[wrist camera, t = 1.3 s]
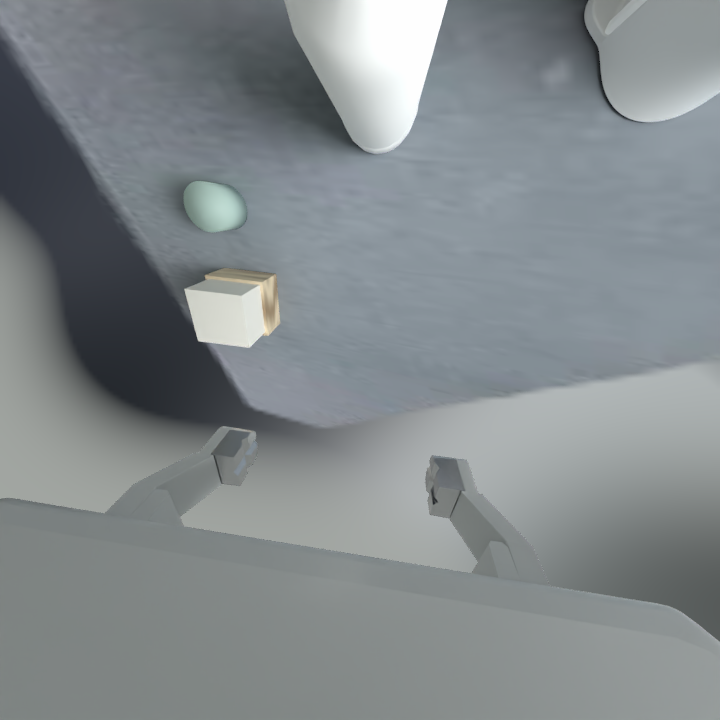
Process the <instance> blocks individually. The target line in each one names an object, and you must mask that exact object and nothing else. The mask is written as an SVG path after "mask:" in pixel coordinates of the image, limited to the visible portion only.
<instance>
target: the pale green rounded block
mask: <svg viewBox="0 0 720 720" xmlns="http://www.w3.org/2000/svg"><path fill="white" fill-rule="evenodd" d="M183 200H184V207H185V210H186V212H187V214H188V216H189V218H190V219H191V221H192V222H193V223H194V224H195V225H196V226H197V227H199V228H200V229H202V230H204V231H207V232H220V231H226V230H233V229H238V228H240V227H241V226H243V225H244V223H245V221H246V219H247V206H246V203H245V201H244V199H243V197H242V195H241V194H240V193H239V192H238V191H237V190H236V189H235V188H233V187H232V186H230V185H226V184H219V183H212V182H204V181H194V182H192V183H190V184H189V185H188V186H187V187H186V189H185V192H184V197H183Z"/></svg>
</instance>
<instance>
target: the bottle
mask: <svg viewBox="0 0 720 720" xmlns="http://www.w3.org/2000/svg"><path fill="white" fill-rule="evenodd" d="M284 2H285V5H286V9H287V12H288V16H289V19H290V23H291V26H292V30H293V33H294V35H295V37H296V39H297V41H298V42H299V44H300V46H301V48H302V49H303V51H304V53H305V55H306V57H307V58H308V60H309V62H310V64H311V66H312V67H313V69H314V71H315V73H316V74H317V76H318V78H319V80H320V82H321V83H322V85H323V87H324V89H325V91H326V92H327V94H328V96H329V98H330V99H331V101H332V103H333V105H334V107H335V108H336V110H337V112H338V114H339V116H340V117H341V119H342V121H343V124H344V127H345V128H346V130H347V132H348V133H349V135H350V137H351V138H352V140H353V141H354V142H355V143H356V144H357V145H358V146H359V147H361V148H362V149H363V150H364V151H366V152H369V153H373V154H382V153H388V152H390V151H391V150H393V149H394V148H396V147H397V146H399V145H400V144H401V142H402V141H403V140H404V139H405V137H406V136H407V135H408V133H409V131H410V129H411V127H412V124H413V122H414V119H415V117H416V114H417V110H418V103H419V100H420V96H421V93H422V89H423V86H424V82H425V78H426V75H427V71H428V68H429V64H430V61H431V57H432V54H433V50H434V47H435V43H436V39H437V36H438V32H439V29H440V25H441V22H442V18H443V15H444V11H445V7H446V4H447V0H284Z"/></svg>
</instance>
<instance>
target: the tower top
mask: <svg viewBox="0 0 720 720" xmlns="http://www.w3.org/2000/svg"><path fill="white" fill-rule="evenodd" d="M184 290H185V294H186V297H187V301H188V305H189V309H190V312H191V316H192V320H193V323H194V327H195V331H196V335H197V338H198V341H201V342H209V343H217V344H224V345H232V346H240V347H248V348H250V347H251V346H252V345H253V344H254V343H255V342H256V341H257V340H258V339H259V338H260V337H261V336H262V335H263V334H264V333H265V326H264V317H263V309H262V300H261V291H260V285H257V284H249V283H241V282H232V281H224V280H215V279H208V280H205V281H203V282H200V283H198V284H195V285H193V286H190V287H188V288H185V289H184Z"/></svg>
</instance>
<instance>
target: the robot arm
mask: <svg viewBox="0 0 720 720" xmlns="http://www.w3.org/2000/svg"><path fill="white" fill-rule="evenodd" d="M584 19H585V24H586V27H587V29H588V31H589V33H590V35H591V36H592V38H593V40H594V41H595V43H596V44H597V46H598V50H599V55H600V68H601V78H602V83H603V87H604V91H605V93H606V96H607V98H608V100H609V101H610V103H611V104H612V106H613V107H614V108H615V109H616V110H617V111H618V112H619V113H620V114H622V115H623V116H625V117H627V118H629V119H632V120H635V121H640V122H658V121H663V120H668V119H671V118H674V117H677V116H680V115H682V114H685V113H687V112H689V111H691V110H693V109H695V108H696V107H698V106H700V105H702V104H703V103H705V102H706V101H708V100H709V99H711V98H712V97H714V96H715V95H717V94H718V93H720V0H588V3H587V5H586V8H585V13H584ZM255 438H256V433H255V431H250V430H244V429H238V428H231V427H225V426H222V427H221V428H219V429H218V430H217V432H216V433H215V434H214V435H213V436H212V437H211V439H210V440H209V441H208V442H207V443H206V445H205V446H204V447H203V448H202V449H201V450H200V452H199V453H193V454H191V455H189V456H187V457H185V458H183V459H182V460H180V461H178V462H176V463H174V464H172V465H170V466H168V467H166V468H164V469H162V470H160V471H158V472H156V473H154V474H152V475H151V476H148V477H147V478H145V479H143V480H141V481H139V482H137V483H135V484H133V485H132V486H131V487H130V488H129V490H127V491H126V493H124V494H123V495H122V496H121V497H120V499H119V500H117V501H116V503H114V505H112V506H111V507H110V509H109V510H108V511H107V512H105V513H98V512H92V511H86V510H80V509H74V508H68V507H62V506H56V505H50V504H44V503H37V502H32V501H26V500H20V499H13V498H2V499H0V720H720V642H719V641H718V640H717V639H715V638H714V637H713V636H712V635H710V634H709V633H708V632H707V631H705V630H704V629H703V628H702V627H701V626H699V625H698V624H697V623H695V622H694V621H693V620H691V619H690V618H689V617H687V616H686V615H685V614H683V613H682V612H680V611H678V610H676V609H674V608H672V607H669V606H666V605H661V604H656V603H650V602H644V601H638V600H632V599H626V598H620V597H613V596H607V595H601V594H595V593H588V592H583V591H577V590H570V589H564V588H558V587H552V586H550V585H549V582H548V580H547V578H546V576H545V573H544V571H543V569H542V566H541V564H540V562H539V560H538V557H537V555H536V553H535V551H534V548H533V546H532V545H531V544H530V543H529V542H528V541H527V540H526V539H525V538H524V537H523V536H522V535H521V534H520V533H519V532H518V531H517V530H516V529H515V528H514V527H513V525H512V524H511V523H509V522H508V520H507V519H506V518H505V517H504V516H503V515H502V514H501V513H500V512H499V511H498V510H497V509H496V508H495V507H494V506H493V505H492V504H491V503H490V502H489V501H488V500H487V499H486V498H485V497H484V496H483V494H479V493H478V491H477V487H476V484H475V482H474V478H473V475H472V472H471V469H470V466H469V463H468V461H467V460H464V459H456V458H455V459H454V458H449V457H441V456H431V458H430V467H429V468H427V472H426V490H427V492H428V493H429V497H428V505H429V513H430V515H434V516H440V517H445V518H450V521H451V522H452V523H453V525H454V527H455V528H456V530H457V531H458V533H459V534H460V536H461V537H462V539H463V540H464V542H465V543H466V544H467V546H468V548H469V549H470V551H471V552H472V554H473V555H474V557H475V558H476V560H477V561H478V563H477V565H476V567H475V568H474V570H473V571H472V573H466V572H460V571H453V570H448V569H442V568H435V567H429V566H423V565H417V564H411V563H405V562H399V561H392V560H386V559H380V558H374V557H368V556H362V555H356V554H350V553H344V552H337V551H331V550H325V549H319V548H313V547H307V546H300V545H294V544H288V543H282V542H276V541H270V540H264V539H257V538H251V537H245V536H239V535H233V534H227V533H221V532H214V531H209V530H202V529H196V528H190V527H184V525H183V523H182V521H181V519H180V516H182V515H183V514H184V513H186V512H187V511H188V510H189V509H191V508H192V507H193V506H195V505H196V504H197V503H199V502H200V501H201V500H203V499H204V498H205V497H206V496H208V495H209V494H210V493H212V492H213V491H214V490H216V489H217V488H218V487H219V486H221V484H227V485H236V486H240V485H241V484H242V482H243V480H244V479H245V477H246V475H247V474H248V472H247V468H248V467H250V466H251V465H253V463H254V461H255V460H256V456H257V453H258V445H257V443H256V442H255V441H254V440H255Z"/></svg>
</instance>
